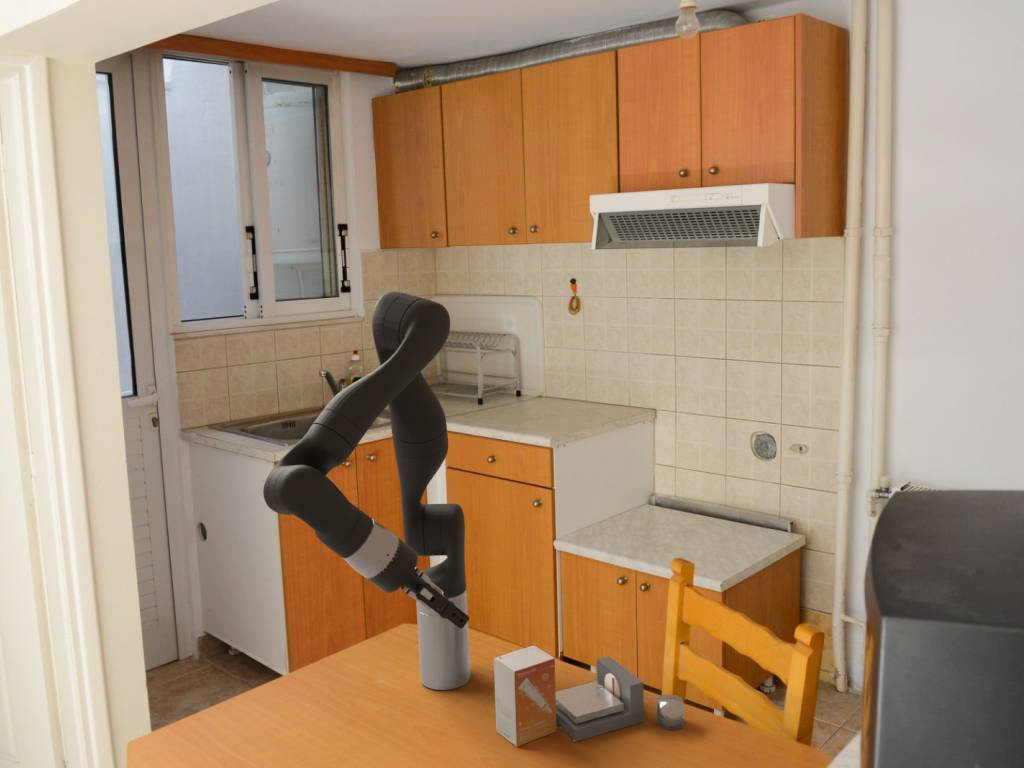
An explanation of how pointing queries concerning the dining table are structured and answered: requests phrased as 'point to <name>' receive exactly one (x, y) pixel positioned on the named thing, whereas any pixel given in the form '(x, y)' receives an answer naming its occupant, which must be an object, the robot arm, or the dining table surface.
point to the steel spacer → (670, 712)
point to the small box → (525, 695)
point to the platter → (587, 702)
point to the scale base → (622, 688)
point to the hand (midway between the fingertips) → (454, 613)
